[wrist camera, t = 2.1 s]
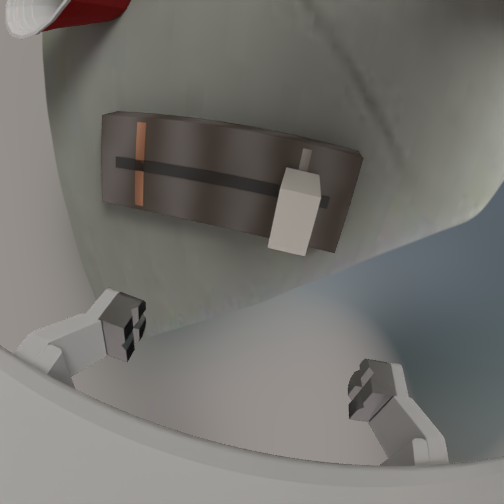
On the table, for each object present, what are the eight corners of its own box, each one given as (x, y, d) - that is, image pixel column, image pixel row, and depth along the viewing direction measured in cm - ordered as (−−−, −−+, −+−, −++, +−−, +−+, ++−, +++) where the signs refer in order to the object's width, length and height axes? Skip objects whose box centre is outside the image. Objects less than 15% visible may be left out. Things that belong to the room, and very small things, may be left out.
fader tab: (319, 174, 27) (321, 197, 22) (306, 224, 30) (304, 256, 25) (286, 167, 27) (280, 188, 22) (275, 217, 30) (267, 247, 25)
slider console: (358, 151, 28) (363, 158, 26) (333, 239, 34) (334, 253, 31) (117, 111, 30) (101, 115, 28) (116, 192, 35) (102, 201, 33)
